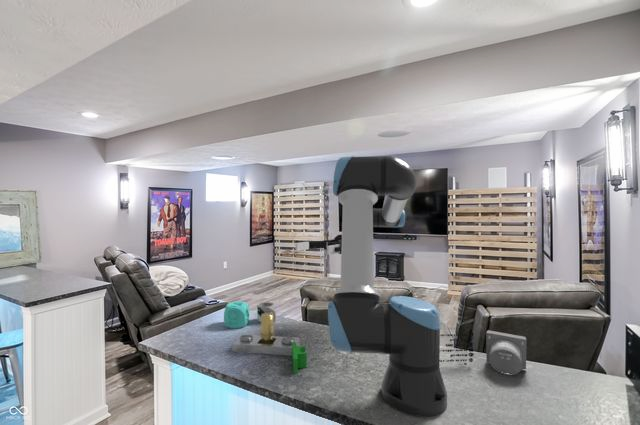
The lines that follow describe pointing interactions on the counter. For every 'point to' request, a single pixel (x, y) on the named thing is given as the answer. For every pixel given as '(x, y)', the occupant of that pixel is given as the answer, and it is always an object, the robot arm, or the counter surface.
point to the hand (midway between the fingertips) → (311, 248)
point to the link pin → (267, 328)
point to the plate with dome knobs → (265, 345)
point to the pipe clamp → (298, 357)
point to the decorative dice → (236, 315)
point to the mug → (265, 310)
